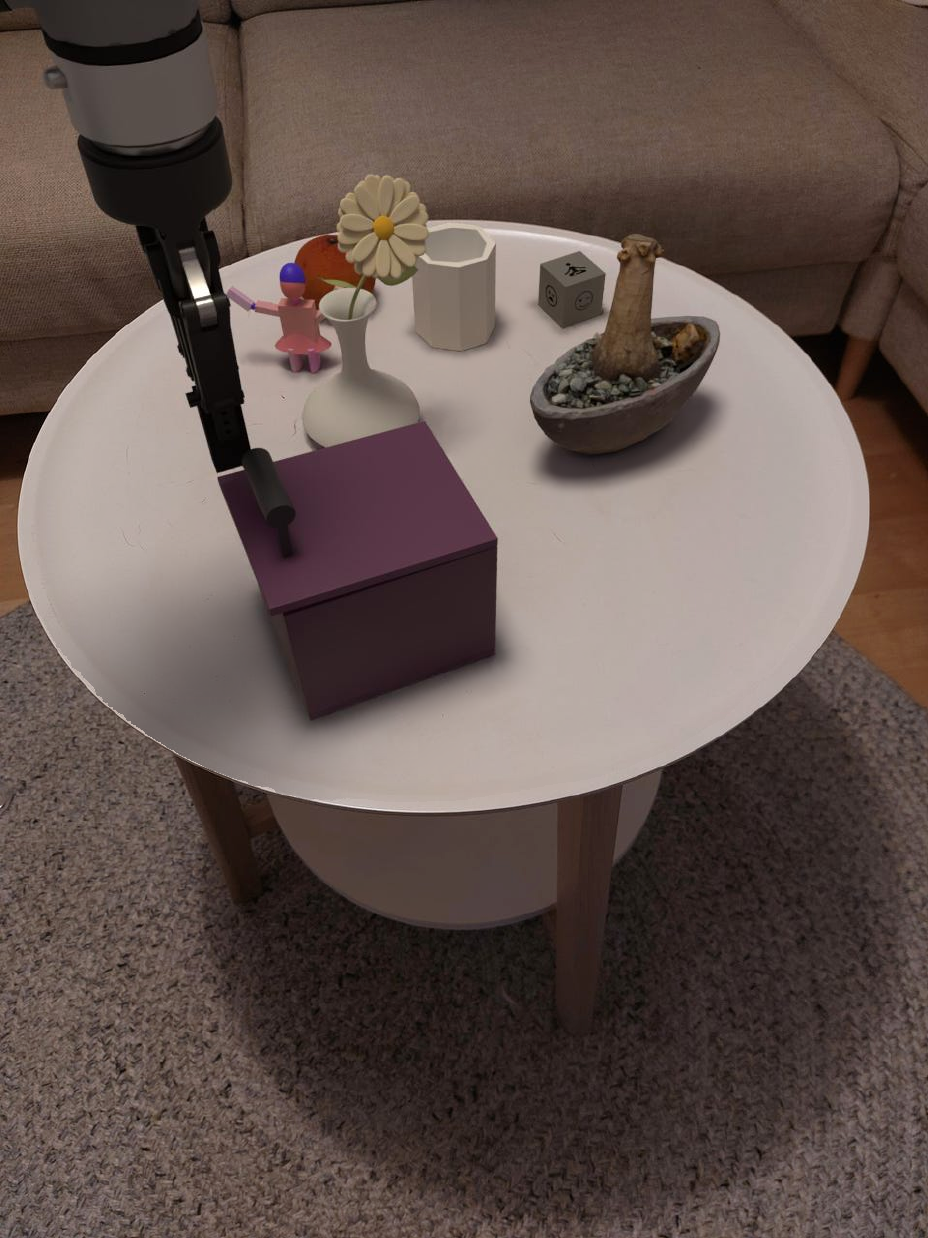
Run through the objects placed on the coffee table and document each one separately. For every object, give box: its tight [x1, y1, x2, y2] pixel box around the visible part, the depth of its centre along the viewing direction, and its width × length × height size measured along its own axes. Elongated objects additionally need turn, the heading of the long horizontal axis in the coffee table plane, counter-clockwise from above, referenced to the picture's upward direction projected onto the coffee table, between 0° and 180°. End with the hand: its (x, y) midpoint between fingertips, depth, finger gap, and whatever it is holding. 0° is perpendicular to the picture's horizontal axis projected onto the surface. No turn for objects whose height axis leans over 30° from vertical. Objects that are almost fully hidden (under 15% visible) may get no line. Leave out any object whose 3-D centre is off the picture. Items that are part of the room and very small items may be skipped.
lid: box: [216, 420, 499, 616], centre depth 68 cm, size 16×14×6 cm
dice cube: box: [537, 250, 607, 329], centre depth 105 cm, size 5×5×5 cm
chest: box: [257, 545, 498, 721], centre depth 76 cm, size 16×14×13 cm
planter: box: [529, 233, 721, 455], centre depth 87 cm, size 15×17×20 cm
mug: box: [411, 221, 497, 352], centre depth 103 cm, size 12×9×10 cm
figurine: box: [226, 262, 344, 374], centre depth 98 cm, size 3×12×11 cm, turn 87°
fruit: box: [293, 234, 377, 311], centre depth 106 cm, size 9×9×8 cm
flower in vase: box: [301, 173, 429, 448], centre depth 86 cm, size 13×11×25 cm
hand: (232, 461), depth 69 cm, fingers closed
